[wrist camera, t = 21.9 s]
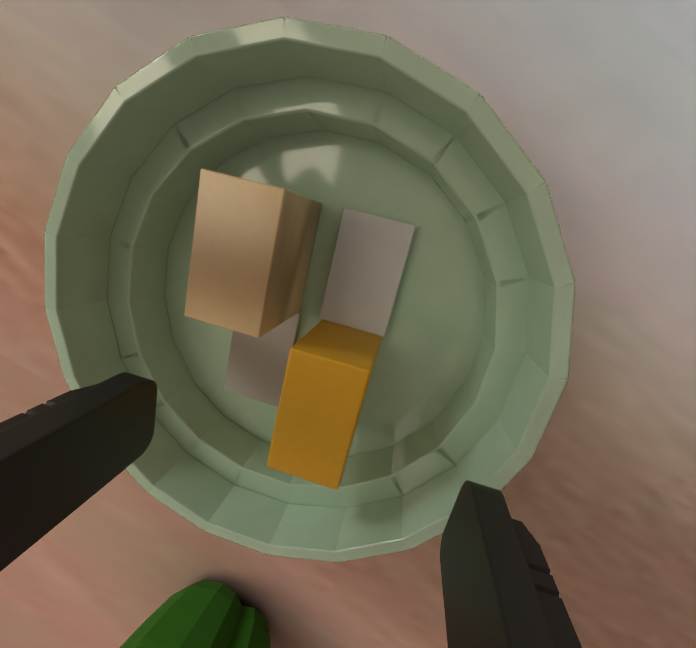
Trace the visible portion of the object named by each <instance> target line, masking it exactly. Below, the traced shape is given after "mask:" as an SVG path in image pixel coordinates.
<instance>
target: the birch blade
mask: <svg viewBox="0 0 696 648" xmlns="http://www.w3.org/2000/svg"><path fill="white" fill-rule="evenodd" d="M321 209H322V203H320V202H318V201H315V200H313V199H310V198H308V197H305V196H303V195H300V194H297V193H295V192H292V191H290V190H287V189H285V188H281V187H277V186H273V185H269V184H265V183H260V182H256V181H252V180H248V179H244V178H240V177H236V176H232V175H228V174H224V173H220V172H216V171H212V170H207V169H201V170H200V179H199V188H198V197H197V206H196V215H195V224H194V233H193V242H192V251H191V260H190V269H189V278H188V287H187V296H186V305H185V314H184V315H185V316H186V317H189V318H192V319H196V320H199V321H203V322H206V323H209V324H213V325H216V326H219V327H223V328H226V329H229V330H233V333H232V340H231V346H230V353H229V359H228V366H227V372H226V379H225V385H224V390H227V391H230V392H233V393H236V394H239V395H242V396H245V397H249V398H252V399H255V400H258V401H261V402H264V403H267V404H271V405H274V406H277V407H278V406H279V401H280V397H281V392H282V387H283V382H284V377H285V372H286V367H287V363H288V358H289V353H290V349H291V347H293V346H294V345H295V344H296V340H297V336H298V331H299V326H300V321H301V317H302V312H300V310H301V305H302V300H303V295H304V290H305V286H306V281H307V276H308V271H309V266H310V262H311V257H312V252H313V247H314V242H315V238H316V233H317V228H318V223H319V218H320V214H321Z"/></svg>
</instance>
